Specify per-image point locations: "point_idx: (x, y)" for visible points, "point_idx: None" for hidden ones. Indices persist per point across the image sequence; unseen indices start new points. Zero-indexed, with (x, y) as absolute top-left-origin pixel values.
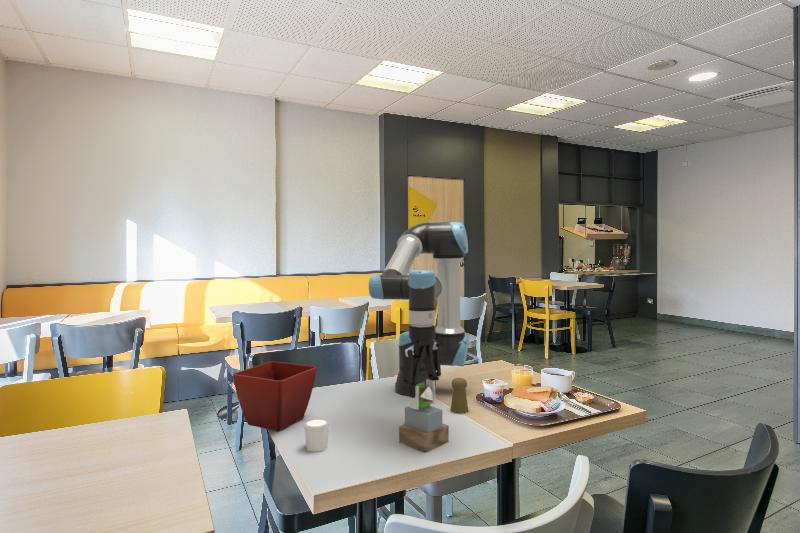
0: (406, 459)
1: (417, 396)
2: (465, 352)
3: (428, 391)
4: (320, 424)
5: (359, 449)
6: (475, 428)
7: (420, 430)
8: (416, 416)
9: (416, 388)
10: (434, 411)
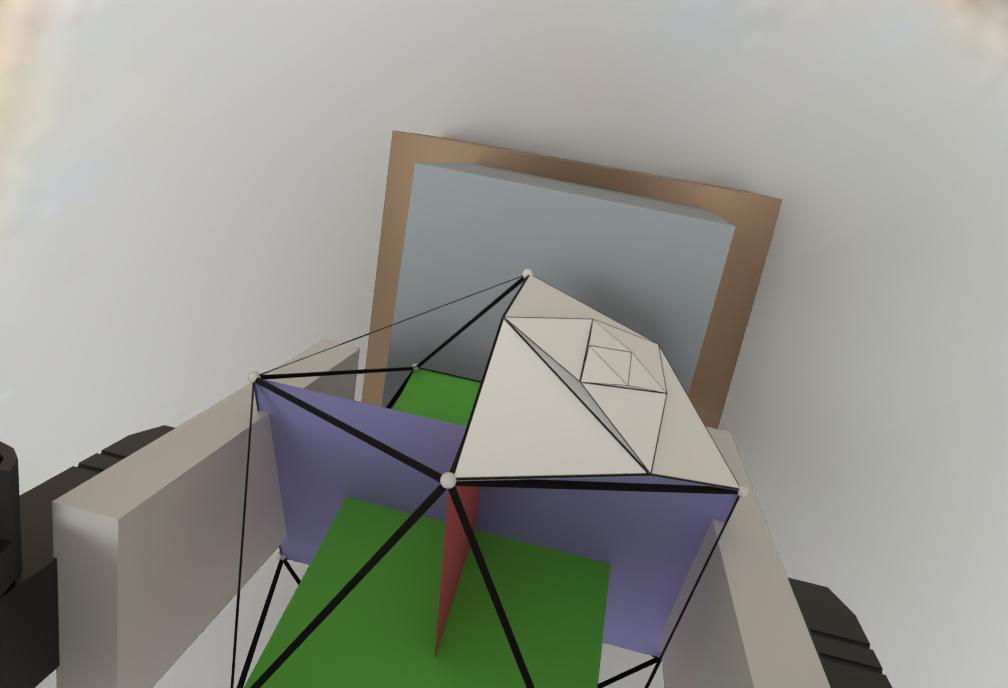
0: (962, 264)
1: (757, 537)
2: None
3: (572, 398)
4: None
5: (944, 666)
6: (75, 74)
7: None
8: None
9: (815, 681)
10: (548, 224)
